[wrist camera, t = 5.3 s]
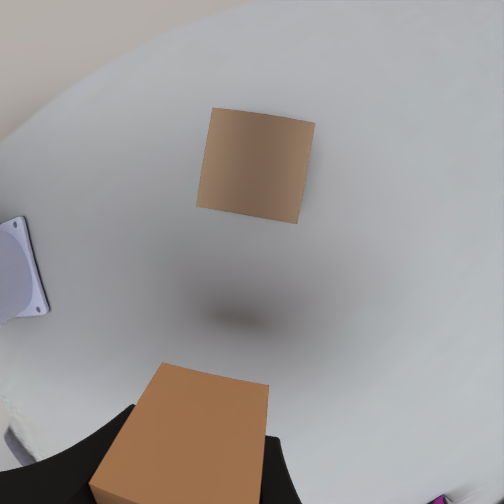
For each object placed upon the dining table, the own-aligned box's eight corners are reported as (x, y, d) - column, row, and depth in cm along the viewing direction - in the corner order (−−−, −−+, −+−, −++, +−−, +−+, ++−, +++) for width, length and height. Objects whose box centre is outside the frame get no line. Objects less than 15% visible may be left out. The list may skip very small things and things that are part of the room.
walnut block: (223, 197, 18) (196, 206, 12) (234, 129, 17) (212, 107, 11) (291, 209, 18) (297, 224, 12) (303, 141, 17) (314, 123, 11)
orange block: (161, 431, 12) (113, 537, 6) (162, 362, 11) (88, 483, 5) (250, 451, 12) (233, 569, 6) (268, 385, 11) (256, 529, 5)
